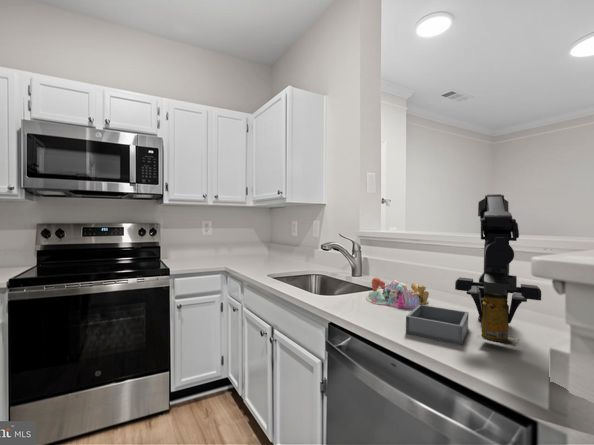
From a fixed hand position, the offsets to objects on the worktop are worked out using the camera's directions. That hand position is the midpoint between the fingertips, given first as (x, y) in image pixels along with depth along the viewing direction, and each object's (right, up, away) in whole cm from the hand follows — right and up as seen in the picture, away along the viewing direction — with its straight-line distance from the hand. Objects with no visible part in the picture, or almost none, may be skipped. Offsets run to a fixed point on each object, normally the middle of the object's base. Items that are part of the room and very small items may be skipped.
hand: (494, 320), depth 82 cm
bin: (-10, -7, +11) cm, 17 cm away
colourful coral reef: (-11, -7, +46) cm, 48 cm away
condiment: (+1, -5, 0) cm, 5 cm away
